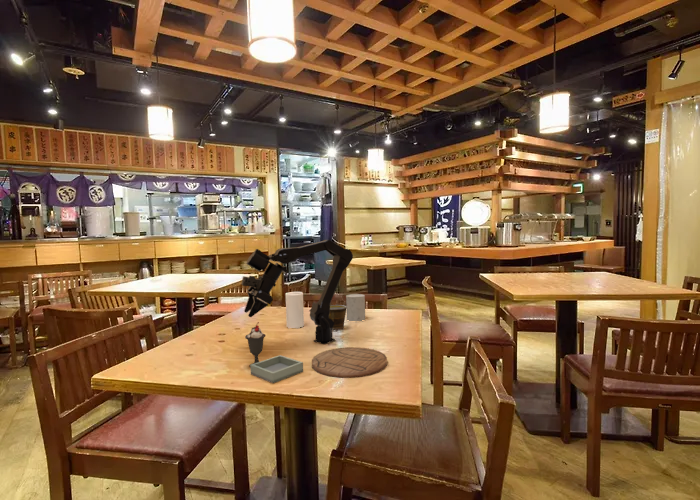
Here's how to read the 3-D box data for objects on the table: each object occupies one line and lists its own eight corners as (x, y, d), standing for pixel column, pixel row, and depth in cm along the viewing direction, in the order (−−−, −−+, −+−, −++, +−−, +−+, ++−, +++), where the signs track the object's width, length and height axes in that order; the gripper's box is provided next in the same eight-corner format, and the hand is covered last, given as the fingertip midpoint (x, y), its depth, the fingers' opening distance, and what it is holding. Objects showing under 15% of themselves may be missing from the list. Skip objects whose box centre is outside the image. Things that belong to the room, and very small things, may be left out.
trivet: (366, 384, 104) (365, 378, 104) (296, 371, 116) (296, 365, 116) (398, 357, 125) (398, 352, 125) (337, 348, 138) (336, 343, 138)
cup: (302, 328, 168) (301, 294, 168) (285, 328, 168) (283, 294, 168) (305, 324, 177) (304, 291, 176) (288, 324, 177) (287, 292, 176)
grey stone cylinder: (345, 321, 179) (344, 297, 178) (348, 317, 188) (347, 294, 188) (364, 322, 177) (363, 297, 177) (366, 317, 187) (366, 294, 186)
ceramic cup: (334, 324, 173) (333, 304, 173) (351, 327, 167) (350, 306, 167) (316, 331, 163) (315, 309, 162) (334, 334, 157) (333, 311, 157)
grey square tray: (280, 363, 122) (280, 355, 122) (303, 371, 114) (303, 362, 114) (250, 374, 113) (250, 364, 113) (273, 383, 105) (272, 373, 105)
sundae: (261, 369, 117) (260, 323, 116) (242, 368, 118) (240, 323, 118) (270, 362, 123) (268, 318, 123) (252, 361, 125) (250, 318, 124)
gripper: (247, 265, 142) (225, 300, 139) (255, 268, 125) (231, 308, 122) (271, 279, 146) (250, 313, 143) (282, 284, 129) (259, 323, 126)
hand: (247, 314), depth 133 cm, fingers open, 9 cm apart
